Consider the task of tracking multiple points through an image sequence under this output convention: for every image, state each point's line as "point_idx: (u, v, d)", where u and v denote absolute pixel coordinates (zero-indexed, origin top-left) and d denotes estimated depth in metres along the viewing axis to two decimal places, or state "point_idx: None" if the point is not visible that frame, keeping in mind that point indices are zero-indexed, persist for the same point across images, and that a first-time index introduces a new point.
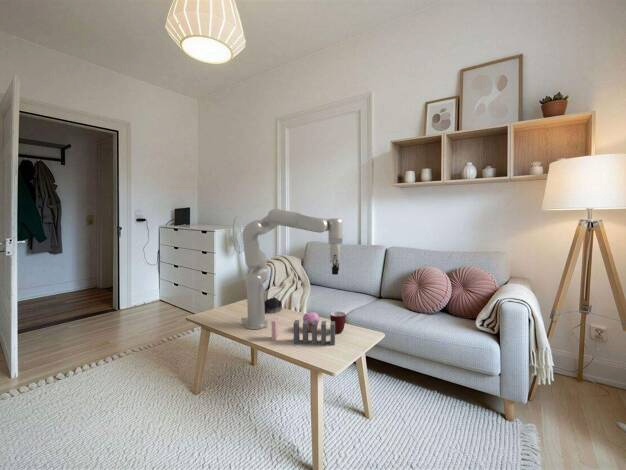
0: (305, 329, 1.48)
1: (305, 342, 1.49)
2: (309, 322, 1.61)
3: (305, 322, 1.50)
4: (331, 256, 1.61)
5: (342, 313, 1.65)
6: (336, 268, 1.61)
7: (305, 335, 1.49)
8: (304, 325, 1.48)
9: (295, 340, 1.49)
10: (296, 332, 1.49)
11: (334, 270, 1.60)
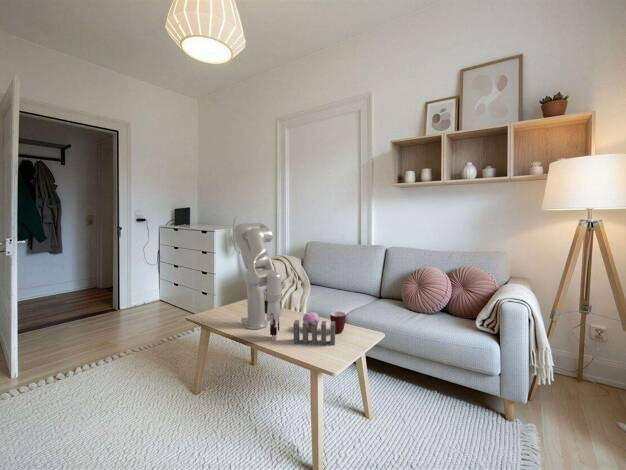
0: (305, 329, 1.48)
1: (305, 342, 1.49)
2: (309, 322, 1.61)
3: (305, 322, 1.50)
4: (268, 315, 1.50)
5: (342, 313, 1.65)
6: (274, 329, 1.51)
7: (305, 335, 1.49)
8: (304, 325, 1.48)
9: (295, 340, 1.49)
10: (296, 332, 1.49)
11: (272, 331, 1.51)
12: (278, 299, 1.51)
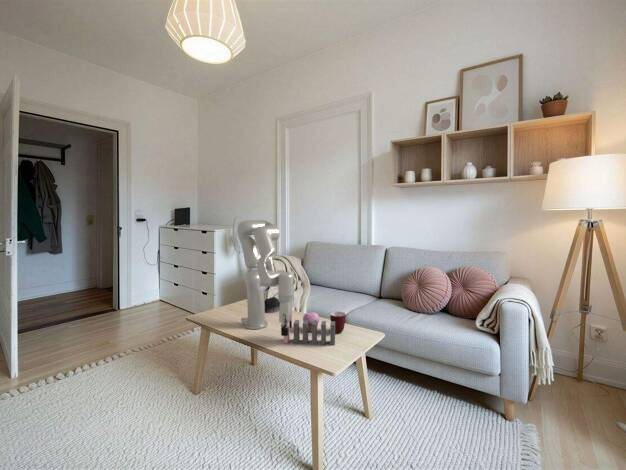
0: (305, 329, 1.48)
1: (305, 342, 1.49)
2: (309, 322, 1.61)
3: (305, 322, 1.50)
4: (280, 316, 1.47)
5: (342, 313, 1.65)
6: (285, 329, 1.47)
7: (305, 335, 1.49)
8: (304, 325, 1.48)
9: (295, 340, 1.49)
10: (296, 332, 1.49)
11: (283, 331, 1.46)
12: (290, 300, 1.48)
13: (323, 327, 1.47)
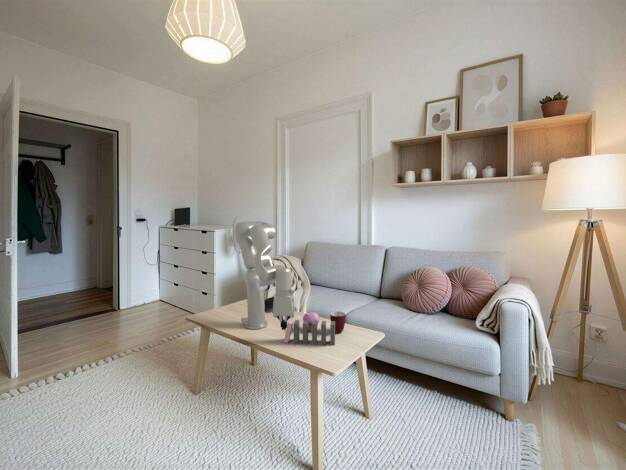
0: (305, 329, 1.48)
1: (305, 342, 1.49)
2: (309, 322, 1.61)
3: (305, 322, 1.50)
4: None
5: (342, 313, 1.65)
6: (281, 322, 1.51)
7: (305, 335, 1.49)
8: (304, 325, 1.48)
9: (295, 340, 1.49)
10: (296, 332, 1.49)
11: None
12: (277, 294, 1.49)
13: (323, 327, 1.47)
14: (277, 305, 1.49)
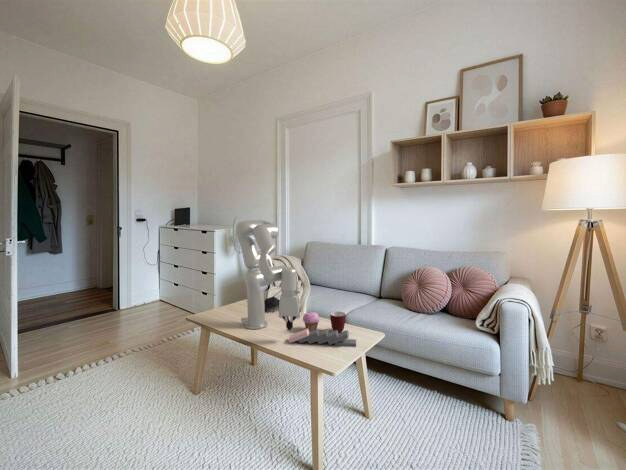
0: (322, 337, 1.47)
1: (309, 342, 1.49)
2: (309, 322, 1.61)
3: (327, 333, 1.49)
4: None
5: (342, 313, 1.65)
6: (286, 323, 1.51)
7: (316, 339, 1.48)
8: (325, 335, 1.47)
9: (301, 340, 1.49)
10: (309, 338, 1.48)
11: None
12: (282, 294, 1.48)
13: (345, 337, 1.45)
14: (283, 305, 1.49)
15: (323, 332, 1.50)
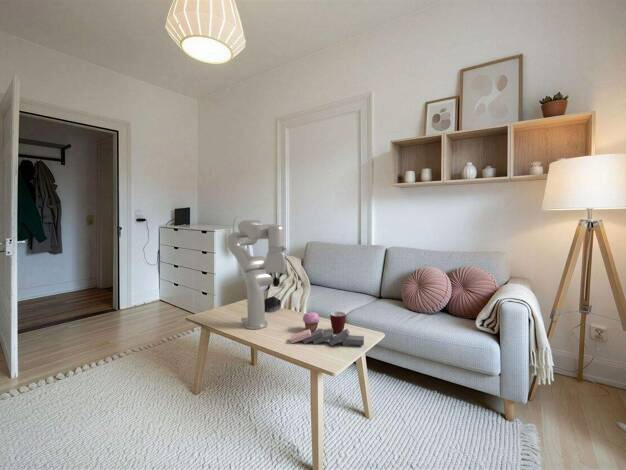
0: (327, 339, 1.48)
1: (315, 342, 1.49)
2: (309, 322, 1.61)
3: (333, 335, 1.50)
4: None
5: (342, 313, 1.65)
6: (273, 279, 1.53)
7: (322, 340, 1.48)
8: (331, 337, 1.48)
9: (306, 340, 1.49)
10: (314, 338, 1.49)
11: None
12: (269, 251, 1.51)
13: (360, 342, 1.45)
14: (270, 262, 1.51)
15: (329, 333, 1.50)
